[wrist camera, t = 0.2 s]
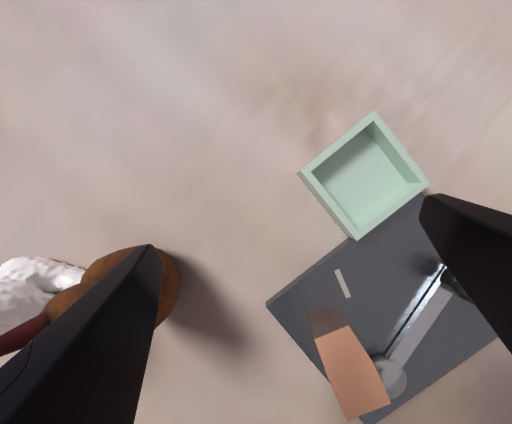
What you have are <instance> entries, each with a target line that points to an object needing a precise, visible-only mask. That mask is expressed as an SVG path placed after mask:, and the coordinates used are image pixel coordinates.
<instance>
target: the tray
mask: <svg viewBox="0 0 512 424" xmlns="http://www.w3.org/2000/svg"><path fill="white" fill-rule="evenodd" d="M297 175H298V176H299V177H300V178H301V180H302V181H303V182H304V183H305V185H306V186H307V187H308V188H309V190H310V191H311V192H312V193H313V195H314V196H315V197H316V198H317V200H318V201H319V202H320V203H321V205H322V206H323V207H324V208H325V210H326V211H327V212H328V213H329V215H330V216H331V217H332V218H333V220H334V221H335V222H336V223H337V225H338V226H339V227H340V228H341V230H342V231H343V232H344V233H345V235H346V236H348V237H350V238H352V239H354V240H356V241H358V240H359V239H360V238H362V237H363V236H364V235H366V234H367V233H368V232H369V231H371V230H372V229H373V228H375V227H376V226H377V225H378V224H380V223H381V222H382V221H384V220H385V219H386V218H387V217H389V216H390V215H391V214H393V213H394V212H395V211H396V210H398V209H399V208H400V207H402V206H403V205H404V204H406V203H407V202H408V201H409V200H411V199H412V198H413V197H415V196H416V195H417V194H418V193H420V192H421V191H422V190H424V189H425V188H426V187H427V186H429V185H430V184H431V182H430V181H429V180H428V179H427V177H426V176H425V175H424V173H423V172H422V171H421V169H420V168H419V167H418V165H417V164H416V163H415V162H414V160H413V159H412V158H411V156H410V155H409V154H408V152H407V151H406V150H405V149H404V147H403V146H402V145H401V143H400V142H399V141H398V139H397V138H396V137H395V136H394V134H393V133H392V132H391V130H390V129H389V128H388V126H387V125H386V124H385V122H384V121H383V120H382V119H381V117H380V116H379V115H378V113H377V112H376V111H375V110H374V111H373V112H371V113H370V114H369V115H367V116H366V117H364V118H363V119H362V120H361V121H359V122H358V123H357V124H356V125H354V126H353V127H352V128H351V129H350V130H348V131H347V132H346V133H345V134H343V135H342V136H341V137H340V138H338V139H337V140H336V141H335V142H334V143H332V144H331V145H330V146H329V147H327V148H326V149H325V150H324V151H323V152H321V153H320V154H319V155H318V156H316V157H315V158H314V159H313V160H312V161H310V162H309V163H308V164H307V165H305V166H304V167H303V168H302V169H301V170H299V171H298V172H297Z"/></svg>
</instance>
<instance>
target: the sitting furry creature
mask: <svg viewBox="0 0 512 424" xmlns="http://www.w3.org/2000/svg"><path fill="white" fill-rule="evenodd" d="M84 273H85V270H84V269H83V268H78V267H77V266H71V265H67V264H66V263H65V262H63V263H59V262H56V261H54V260H51V259H49V258H43V257H41V256H40V257H18V258H12V259H11V260H9V261H7V262H5V263H3V264H2V265H1V266H0V335H2V334H4V333H6V332H7V331H9V330H11V329H13V328H15V327H17V326H18V325H20V324H22V323H24V322H26V321H28V320H30V319H32V318H34V317H36V316H38V315H39V313H40V312H41V311H42V309H43V308H44V307H45V305H46V304H47V302H48V301H49V300H50V299H51V298H53V297H54V296H55V295H56V294H57V293H58V292H61V291H62V290H64V289H66V288H69V287H71V286H74V285H76V284H79V283H80V281H81V277H82V275H83V274H84Z"/></svg>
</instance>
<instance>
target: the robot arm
mask: <svg viewBox="0 0 512 424" xmlns="http://www.w3.org/2000/svg"><path fill="white" fill-rule="evenodd" d="M419 222H420V224H421V226H422V228H423V229H424V231H425V233H426V235H427V236H428V238H429V240H430V241H431V243H432V245H433V246H434V248H435V250H436V251H437V253H438V255H439V256H440V258H441V260H442V261H443V263H444V264H445V266H446V267H447V268H448V270H449V271H450V272H451V274H452V275H453V276H454V278H455V279H456V280H457V282H458V283H459V284H460V286H461V287H462V288H463V290H464V291H465V293H466V294H467V295H468V297H469V298H470V299H471V301H472V302H473V303H474V305H475V306H476V307H477V309H478V310H479V311H480V313H481V314H482V315H483V317H484V318H485V319H486V321H487V322H488V323H489V325H490V326H491V327H492V329H493V330H494V331H495V333H496V334H497V335H498V337H499V338H500V339H501V341H502V342H503V343H504V345H505V346H506V347H507V349H508V350H509V351H510V353H511V354H512V215H511V214H507V213H504V212H501V211H497V210H494V209H491V208H488V207H484V206H481V205H478V204H474V203H471V202H468V201H464V200H461V199H458V198H455V197H451V196H448V195H445V194H441V193H438V194H432V195H427V196H426V197H425V198H424V199H423V202H422V206H421V209H420V212H419ZM162 271H163V262H162V259H161V258H160V256H159V254H158V253H157V251H156V249H155V248H154V246H153V245H152V244H146V245H140V246H138V247H137V248H136V249H134V250H133V251H132V252H131V253H130V254H129V255H128V256H126V257H125V258H124V259H123V260H122V261H121V262H120V263H119V264H117V265H116V266H115V267H114V268H113V269H112V270H111V271H110V272H108V273H107V274H106V275H105V276H104V277H103V278H102V279H100V280H99V281H98V282H97V283H96V284H95V285H94V286H93V287H91V288H90V289H89V290H88V291H87V292H86V293H85V294H84V295H82V296H81V297H80V298H79V299H78V300H77V301H76V302H75V303H73V304H72V305H71V306H70V307H69V308H68V309H67V310H65V311H64V312H63V313H62V314H61V315H60V316H59V317H58V318H56V319H55V320H54V321H53V322H52V323H51V324H50V325H49V326H47V327H46V328H45V329H44V330H43V331H42V332H41V333H40V334H38V335H37V336H36V337H35V338H34V340H33V341H30V342H29V343H28V344H27V345H26V346H25V347H24V348H23V349H21V350H20V351H19V352H18V353H17V354H16V355H15V356H13V357H12V358H11V359H10V360H9V361H8V362H7V363H5V364H4V365H3V366H2V367H1V368H0V424H134V419H135V415H136V410H137V406H138V401H139V396H140V392H141V387H142V383H143V378H144V373H145V369H146V364H147V360H148V355H149V350H150V346H151V341H152V337H153V332H154V327H155V323H156V318H157V313H158V308H159V300H160V291H161V281H162Z"/></svg>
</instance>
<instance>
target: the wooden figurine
mask: <svg viewBox="0 0 512 424" xmlns="http://www.w3.org/2000/svg"><path fill="white" fill-rule="evenodd" d="M137 247H138V246H135V247H130V248H125V249H122V250H119V251H116V252H114V253H111V254H109V255H106V256H104V257H102V258H100V259H98V260H96V261H95V262H94V263H93V264H91V265H90V267H89V268H88V269H87V270H86V271H85V273H84V274H83V275H82V277H81V281H80V283H79V284H76V285H74V286H71V287H69V288H66V289H64V290H62V291H61V292H59V293H57V294H56V295H55V296H54V297H53V298H51V299H50V300H49V301H48V302H47V304H46V305H45V307H44V308H43V309H42V311H41V312H40V313H39V315H38V316H36V317H34V318H32V319H30V320H28V321H26V322H24V323H22V324H20V325H18V326H17V327H15V328H13V329H11V330H9V331H7V332H6V333H4V334H2V335H0V357H1V356H4V355H6V354H9V353H12V352H14V351H17V350H20V349H22V348H24V347H25V346H26V345H27V344H28V343H29V342H30V341H33V340H34V338H35V337H36V336H37V335H38V334H40V333H41V332H42V331H43V330H44V329H45V328H46V327H47V326H49V325H50V324H51V323H52V322H53V321H54V320H55V319H56V318H58V317H59V316H60V315H61V314H62V313H63V312H64V311H65V310H67V309H68V308H69V307H70V306H71V305H72V304H73V303H75V302H76V301H77V300H78V299H79V298H80V297H81V296H82V295H84V294H85V293H86V292H87V291H88V290H89V289H90V288H91V287H93V286H94V285H95V284H96V283H97V282H98V281H99V280H100V279H102V278H103V277H104V276H105V275H106V274H107V273H108V272H110V271H111V270H112V269H113V268H114V267H115V266H116V265H117V264H119V263H120V262H121V261H122V260H123V259H124V258H125V257H126V256H128V255H129V254H130V253H131V252H132V251H133V250H134V249H136V248H137ZM154 248H155V247H154ZM155 249H156V251H157V253H158V254H159V256H160V258H161V259H162V262H163V271H162V281H161V291H160V300H159V308H158V313H157V318H156V323H155V327H154V329H155V328H156V327H157V326H159V325H160V324H161V323H162V322H163V321H164V320H165V319H166V318H167V316H168V315H169V314H170V312H171V311H172V309H173V306H174V304H175V302H176V299H177V297H178V293H179V279H178V272H177V269H176V266H175V264H174V262H173V261H172V259H171V258H170V257H169V256H168V255H167V254H166V253H165V252H164V251H162V250H161V249H158V248H155Z"/></svg>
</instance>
